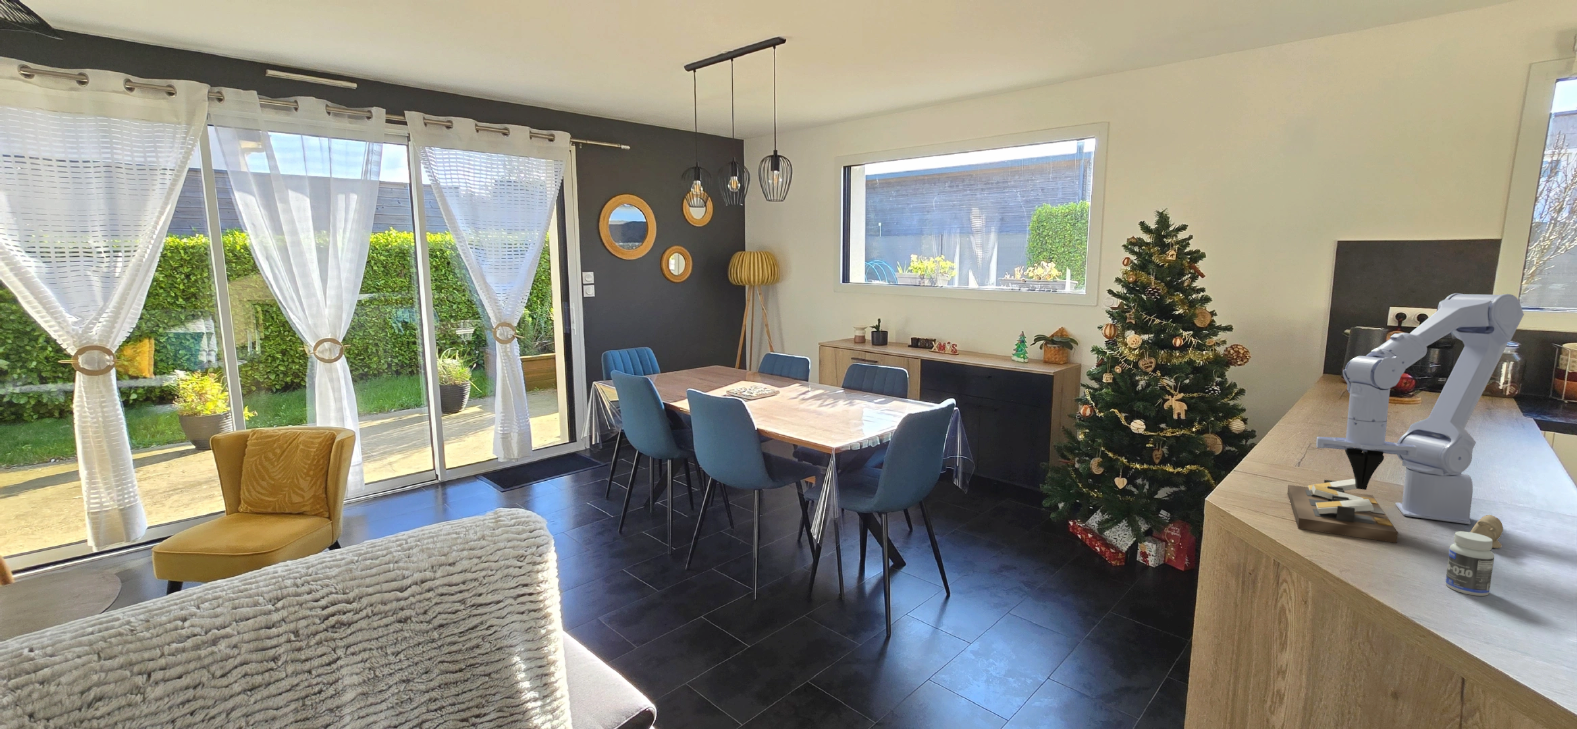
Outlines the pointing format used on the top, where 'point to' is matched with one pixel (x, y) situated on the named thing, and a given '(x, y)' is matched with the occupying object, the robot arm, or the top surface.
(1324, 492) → the rocker middle
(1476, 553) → the pill bottle
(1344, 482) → the block
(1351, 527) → the switch panel
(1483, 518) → the decorative ornament
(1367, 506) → the rocker near
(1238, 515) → the top surface
